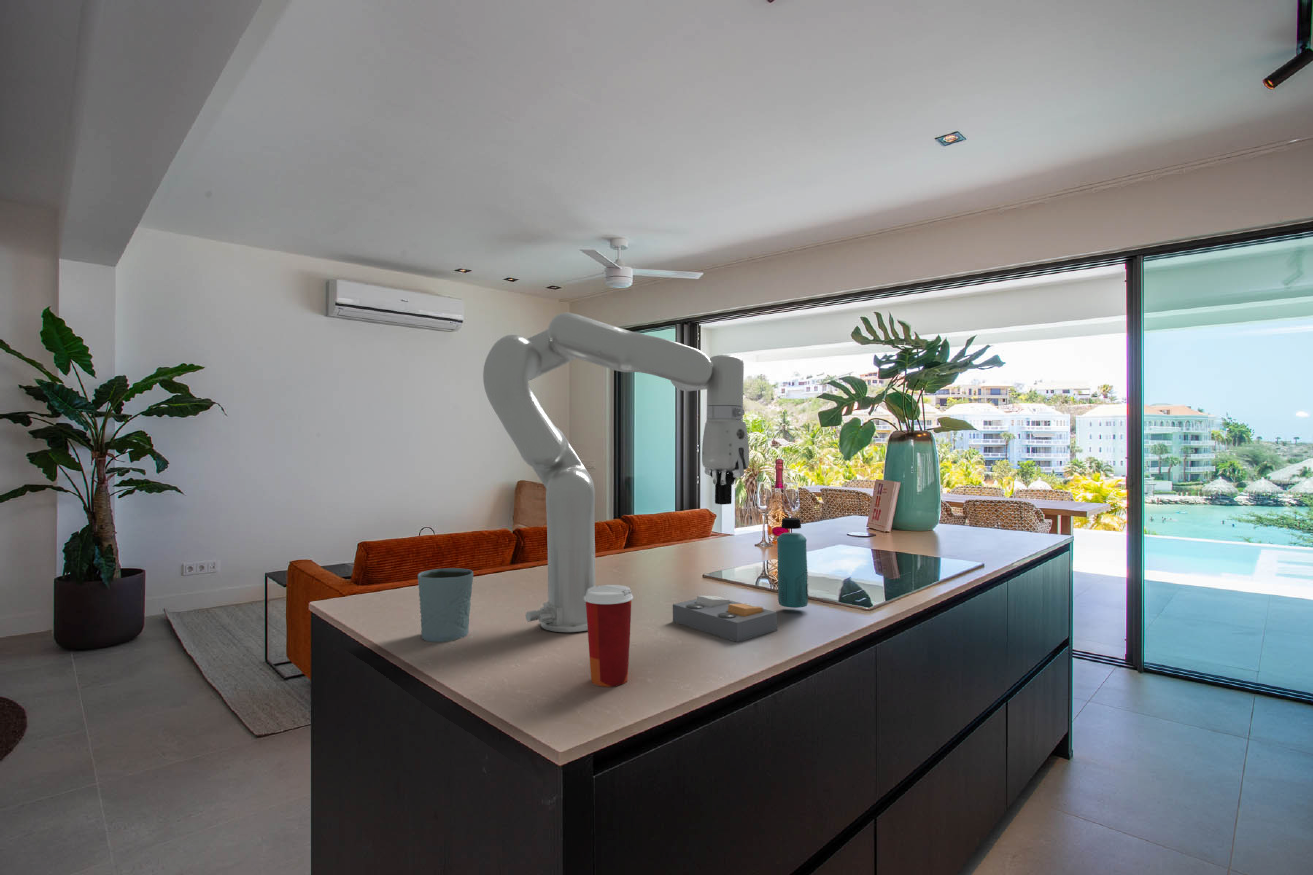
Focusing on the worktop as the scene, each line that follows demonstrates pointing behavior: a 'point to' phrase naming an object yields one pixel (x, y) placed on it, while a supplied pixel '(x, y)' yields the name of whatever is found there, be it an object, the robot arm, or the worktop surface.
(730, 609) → the labelled cardboard parcel
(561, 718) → the worktop surface
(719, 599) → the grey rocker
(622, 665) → the paper cup
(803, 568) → the beverage bottle
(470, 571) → the grey-blue cup
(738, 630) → the grey switch box
